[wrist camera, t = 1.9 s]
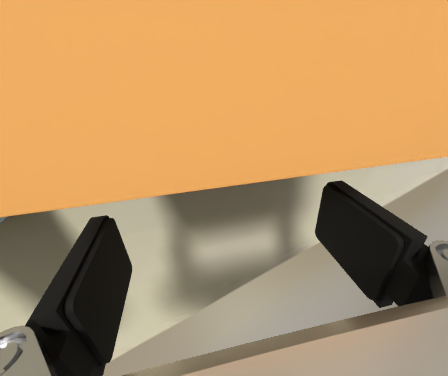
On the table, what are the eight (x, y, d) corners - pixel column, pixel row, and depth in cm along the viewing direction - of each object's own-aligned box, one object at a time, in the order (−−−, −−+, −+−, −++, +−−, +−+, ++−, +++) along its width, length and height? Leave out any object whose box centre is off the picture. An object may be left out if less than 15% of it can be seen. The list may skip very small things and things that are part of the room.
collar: (315, 13, 11) (694, -150, 3) (304, 99, 12) (507, 148, 5) (76, 21, 9) (-510, -257, 1) (107, 117, 11) (-64, 225, 3)
